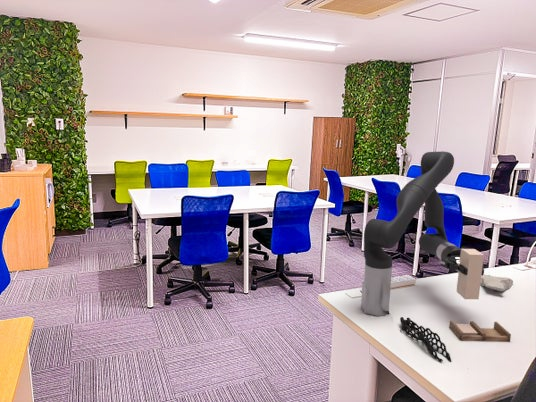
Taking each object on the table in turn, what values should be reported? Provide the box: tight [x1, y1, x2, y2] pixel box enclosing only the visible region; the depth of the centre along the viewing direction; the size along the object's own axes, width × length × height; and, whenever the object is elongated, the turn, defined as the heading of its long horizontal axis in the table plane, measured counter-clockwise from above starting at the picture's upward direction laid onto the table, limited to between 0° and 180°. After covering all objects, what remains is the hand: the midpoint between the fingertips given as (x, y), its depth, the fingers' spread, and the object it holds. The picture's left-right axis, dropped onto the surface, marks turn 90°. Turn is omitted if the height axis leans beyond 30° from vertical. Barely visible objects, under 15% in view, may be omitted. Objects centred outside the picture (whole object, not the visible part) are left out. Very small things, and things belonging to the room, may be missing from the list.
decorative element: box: [399, 316, 452, 363], centre depth 121 cm, size 22×5×6 cm, turn 14°
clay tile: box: [455, 323, 478, 335], centre depth 126 cm, size 4×6×2 cm
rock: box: [480, 273, 514, 292], centre depth 167 cm, size 21×5×15 cm
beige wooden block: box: [456, 248, 485, 300], centre depth 130 cm, size 4×6×15 cm
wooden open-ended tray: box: [448, 320, 512, 343], centre depth 126 cm, size 15×8×4 cm, turn 89°
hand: (474, 272), depth 127 cm, fingers closed on beige wooden block, 4 cm apart
